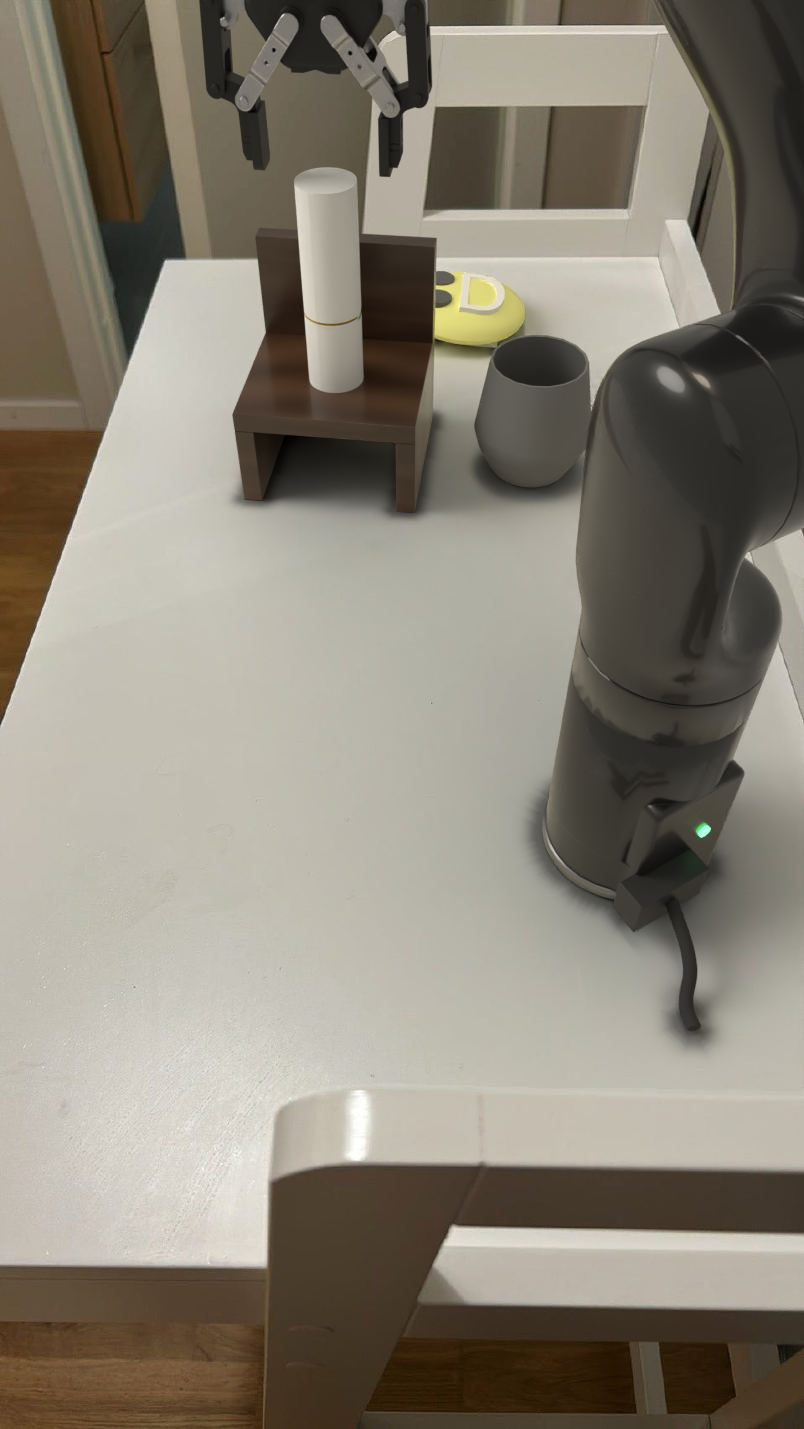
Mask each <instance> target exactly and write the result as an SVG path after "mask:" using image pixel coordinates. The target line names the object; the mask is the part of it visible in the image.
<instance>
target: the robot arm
mask: <svg viewBox="0 0 804 1429" xmlns="http://www.w3.org/2000/svg"><path fill="white" fill-rule="evenodd" d="M198 1H199V2H198V3H199V4H198V5H199V14H200V26H201V41H202V53H203V65H204V78H205V90H206V93H207V94H208V96H209V97H210V98H212V99H215V100H220V99H223V100H225V101H226V102H229V103H230V104H233V105H234V107H235V108H236V111H237V113H238V121H239V130H240V140H241V148H242V153H243V156H244V158H245V160H246V161H252V167H253V170H254V171H266V170H267V168H268V165H269V164H270V161H271V150H270V139H269V129H268V119H267V118H268V117H267V108H266V100H264V99H261V94H262V92H263V90H264V88H265V87H266V85H267V83H268V82H269V80H270V78H271V77H272V75H273V74H274V72H275V70H276V69H277V67H278V65H279V64H280V63H281V64H282V65H283V66H284V67H286V68H288V69H290V73H292V74H293V73H294V74H305V73H309V72H312V71H318V72H320V73H324V74H327V75H341V74H342V72H343V71H346V70H349V71H350V72H351V74H352V75H353V77H354V79H355V80H356V81H357V82H358V83H359V85H360V87H361V88H362V89H363V90H365V91H367V92H368V94H369V95H370V97H371V98H372V99H373V101H374V102H375V104H376V105H377V107H378V108H379V110H380V112H379V115H378V118H377V136H378V140H377V141H378V142H377V143H378V144H377V145H378V175H379V178H391V176H392V173H393V170H394V169H398V168H399V165H400V162H401V161H402V157H403V154H404V113H405V112H406V111H410V110H412V109H414V108H416V109H422V108H424V107H425V106H427V104H428V102H429V98H430V93H431V91H432V88H433V66H432V65H433V64H432V42H431V41H432V40H431V39H432V38H431V18H430V17H431V16H430V15H431V14H430V13H431V12H430V0H198ZM651 2H652V3H653V6H654V8H655V10H656V12H657V14H658V16H659V18H660V20H661V22H662V23H663V25H664V27H665V29H666V31H667V33H668V35H669V37H670V39H671V41H672V43H673V45H674V46H675V48H676V50H677V52H678V54H679V55H680V57H681V59H682V61H683V63H684V65H685V66H686V68H687V70H688V72H689V74H690V76H691V78H692V79H693V81H694V83H695V85H696V86H697V88H698V90H699V92H700V94H701V97H702V100H703V101H704V103H705V105H706V107H707V109H708V111H709V114H710V116H711V118H712V120H713V123H714V126H715V128H716V131H717V134H718V137H719V140H720V142H721V145H722V150H723V154H724V158H725V163H726V167H727V173H728V179H729V180H728V181H729V187H730V194H731V209H732V211H731V212H732V226H733V228H732V229H733V232H732V233H733V278H732V279H733V280H732V292H731V300H730V302H731V303H730V306H729V311H726V312H722V313H719V314H716V315H714V316H710V317H708V318H705V319H702V320H699V321H696V322H693V323H690V324H686V325H684V326H681V327H679V328H675V329H672V330H670V331H666V332H664V333H660V334H657V335H655V336H652V337H649V338H647V339H644V340H642V341H640V342H637V343H636V344H633V345H632V346H630V347H628V348H626V350H624V351H623V352H621V354H619V355H618V356H617V357H616V358H615V359H614V360H613V362H612V363H611V365H609V367H608V369H607V371H606V372H605V374H604V376H603V377H602V379H601V382H600V384H599V386H598V389H597V391H596V394H595V396H594V401H593V404H592V406H591V415H590V420H589V425H588V431H587V439H586V447H585V451H584V458H583V468H582V482H581V493H580V505H579V514H578V526H577V535H576V545H575V572H576V581H577V587H578V593H579V597H580V604H581V610H580V617H579V622H578V628H577V633H576V634H577V635H576V641H575V646H574V652H573V657H572V662H571V666H570V667H571V668H570V672H569V678H568V685H567V691H566V695H565V700H564V707H563V712H562V718H561V723H560V730H559V735H558V741H557V746H556V751H555V752H556V753H555V757H554V764H553V768H552V774H551V779H550V780H551V781H550V788H549V794H548V799H547V801H546V803H545V808H544V812H543V818H542V823H541V824H542V828H541V830H542V840H543V842H544V846H545V849H546V851H547V854H548V855H549V858H550V859H551V861H552V862H553V864H554V865H555V866H556V868H557V869H558V870H559V871H560V872H561V873H562V874H563V875H564V876H565V877H566V879H568V880H569V881H571V882H572V883H574V884H575V885H577V886H578V887H580V888H581V889H582V890H585V891H587V892H589V893H591V894H594V895H597V896H599V897H602V898H605V899H610V900H613V903H612V906H611V907H612V909H613V910H614V911H615V912H616V914H617V915H618V916H619V917H620V918H621V920H622V921H623V922H624V923H625V924H626V925H627V927H628V928H629V929H630V930H631V932H632V933H636V932H637V931H639V930H641V929H642V928H644V927H646V926H648V925H649V924H650V923H651V924H652V923H653V922H654V921H656V920H657V919H659V918H661V917H662V916H665V915H666V914H667V915H668V916H669V920H670V923H671V925H672V928H673V932H674V935H675V937H676V939H677V944H678V947H679V951H680V957H681V964H682V977H681V982H680V988H679V992H678V993H679V994H678V1007H679V1013H680V1016H681V1019H682V1021H683V1024H684V1026H685V1028H686V1031H687V1032H695V1031H697V1030H699V1029H701V1027H702V1025H701V1023H700V1020H699V1018H698V1016H697V1014H696V1011H695V1005H694V997H695V991H696V987H697V981H698V961H697V954H696V949H695V945H694V941H693V938H692V935H691V932H690V929H689V926H688V923H687V921H686V917H685V914H684V912H683V910H682V904H684V903H686V902H688V901H689V900H690V899H693V898H694V897H696V896H698V895H700V893H701V891H702V888H703V886H704V884H705V881H706V878H707V876H708V873H709V871H710V867H709V863H710V861H711V858H712V856H713V854H714V852H715V849H716V846H717V844H718V842H719V839H720V837H721V834H722V831H723V829H724V827H725V825H726V822H727V820H728V817H729V814H730V812H731V809H732V807H733V804H734V802H735V800H736V797H737V795H738V793H739V790H740V788H741V785H742V782H743V780H744V778H745V775H746V774H745V770H744V768H743V767H742V766H741V765H740V764H739V763H738V762H737V761H736V760H735V759H734V757H735V755H736V753H737V751H738V750H737V749H738V747H739V744H740V741H741V739H742V737H743V734H744V732H745V728H746V727H747V724H748V721H749V718H750V716H751V713H752V710H753V708H754V706H755V703H756V701H757V698H758V695H759V694H760V690H761V687H762V685H763V682H764V680H765V678H766V675H767V672H768V669H769V667H770V665H771V662H772V659H773V657H774V656H775V652H776V649H777V646H778V644H779V641H780V637H781V634H782V628H783V608H782V603H781V600H780V597H779V595H778V593H777V590H776V588H775V586H774V585H773V583H772V582H771V581H770V579H769V578H768V576H766V574H765V573H764V572H763V571H762V570H761V569H760V568H759V567H758V566H757V565H756V564H754V563H753V562H752V561H750V560H749V559H748V558H746V556H747V554H748V553H749V552H753V551H754V550H757V549H759V548H761V547H763V546H766V545H768V544H770V543H772V542H775V541H777V540H779V539H781V538H784V537H786V536H788V535H791V534H793V533H796V532H797V531H800V530H802V529H804V0H651ZM242 11H245V13H246V15H247V17H248V18H249V20H250V21H251V23H252V24H253V25H254V27H255V28H256V30H257V31H258V33H259V34H260V36H261V37H262V38H263V40H264V42H265V44H264V45H263V47H262V48H261V50H260V52H259V54H258V56H257V57H256V59H255V60H254V62H253V64H252V66H251V67H250V70H249V72H248V73H247V75H246V77H245V76H243V75H241V74H238V73H236V72H234V64H233V61H234V60H233V49H232V48H233V46H232V31H231V30H233V29H234V27H235V26H236V24H237V23H238V21H239V19H240V12H242ZM383 16H386V17H388V18H389V19H390V20H391V22H392V25H393V27H394V31H395V32H396V33H397V35H399V36H401V37H405V47H406V48H405V49H406V68H407V80H406V81H403V82H401V83H400V81H399V80H398V79H397V77H396V75H395V73H394V72H393V70H392V69H391V68H390V66H389V65H388V62H387V58H386V56H385V55H384V53H383V52H382V50H381V48H380V47H379V45H378V44H377V43H376V41H375V40H374V38H373V37H372V34H373V33H374V31H375V29H376V28H377V27H378V25H379V23H380V21H381V20H382V17H383Z"/></svg>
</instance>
